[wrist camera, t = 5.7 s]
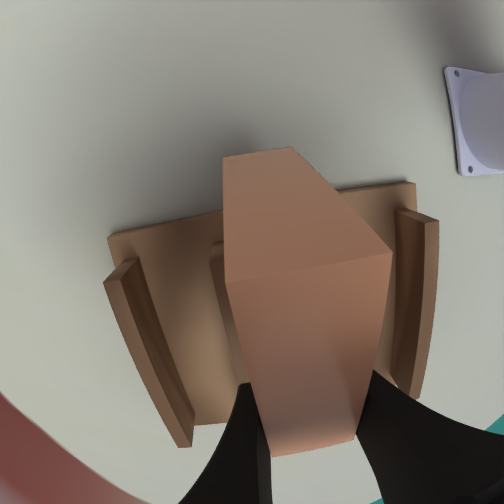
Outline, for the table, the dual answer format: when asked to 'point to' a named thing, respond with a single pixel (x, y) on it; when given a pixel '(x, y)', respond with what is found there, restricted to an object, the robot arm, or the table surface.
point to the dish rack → (221, 317)
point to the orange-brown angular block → (302, 297)
